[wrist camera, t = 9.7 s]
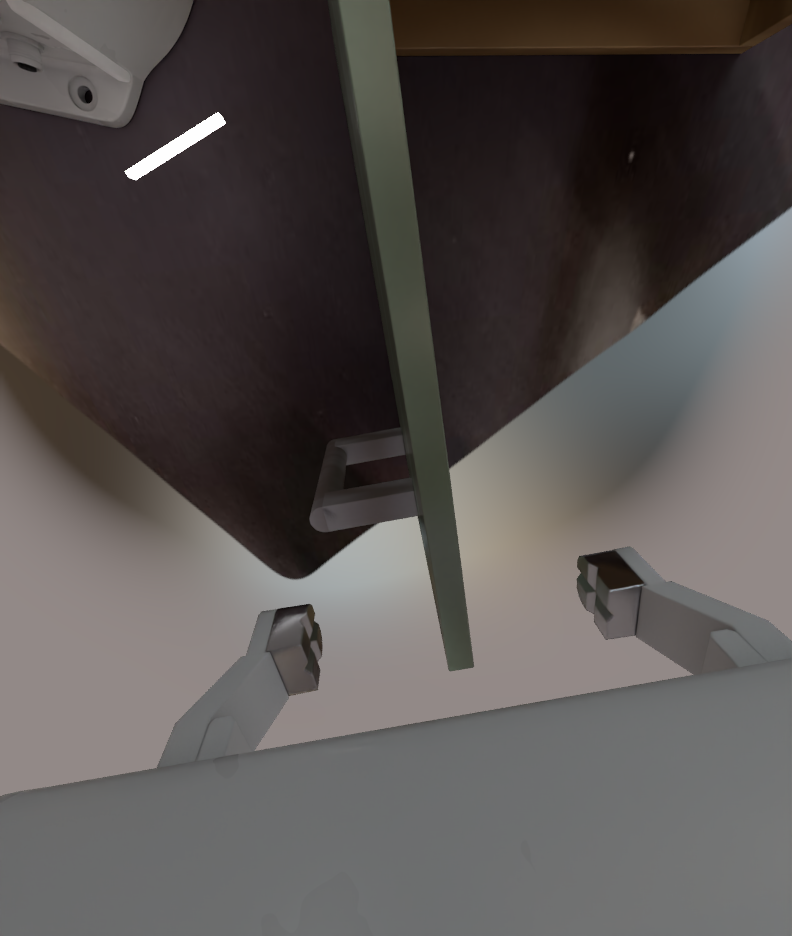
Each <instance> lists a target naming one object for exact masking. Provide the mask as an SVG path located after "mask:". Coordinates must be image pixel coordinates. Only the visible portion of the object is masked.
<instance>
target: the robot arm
mask: <svg viewBox="0 0 792 936" xmlns="http://www.w3.org/2000/svg"><path fill="white" fill-rule="evenodd" d="M192 3H193V0H0V104H4V105H9V106H14V107H18V108H23V109H28V110H33V111H37V112H42V113H47V114H51V115H56V116H61V117H66V118H70V119H75V120H80V121H84V122H89V123H94V124H99V125H103V126H108V127H113V128H120V127H123V126H125V125H127V124H128V123H129V121H130V120H131V118H132V116H133V114H134V112H135V109H136V106H137V103H138V100H139V97H140V94H141V90H142V86H143V82H144V80H145V79H146V77H147V76H148V74H149V73H150V72H151V71H152V69H153V68H154V67H155V66H156V65H157V64H158V63H159V62H160V61H161V60H162V59H163V58H164V57H165V56H166V55H167V54H168V52H169V51H170V50H171V48H172V47H173V46H174V44H175V43H176V41H177V40H178V38H179V36H180V34H181V32H182V30H183V28H184V26H185V24H186V22H187V19H188V16H189V13H190V10H191V7H192ZM88 90H90V91H91V92H92V96H93V99H92V101H91V103H89V104H87V103H86V101H85V93H86V91H88ZM224 124H226V123H225V121H224V119H223V117H222V116H221V115H220V114H219V113H218V112H217V113H216V114H214V115H213V116H211V117H210V118H208V119H206V120H205V121H203V122H202V123H200V124H199V125H197V126H195V127H194V128H192V129H191V130H189V131H188V132H186V133H184V134H183V135H181V136H180V137H178V138H177V139H175V140H173V141H172V142H170V143H169V144H167V145H166V146H164V147H162V148H161V149H159V150H158V151H156V152H155V153H153V154H151V155H150V156H148V157H147V158H145V159H144V160H142V161H140V162H139V163H137V164H136V165H134V166H133V167H131V168H129V169H128V170H126V171H125V172H126V174H127V176H128V177H129V178H132V179H134V180H137V179H138V178H140V177H142V176H143V175H145V174H146V173H148V172H150V171H151V170H153V169H154V168H156V167H158V166H159V165H161V164H162V163H164V162H165V161H167V160H169V159H170V158H172V157H173V156H175V155H177V154H178V153H180V152H181V151H183V150H185V149H186V148H188V147H189V146H191V145H192V144H194V143H196V142H197V141H199V140H200V139H202V138H204V137H205V136H207V135H208V134H210V133H212V132H213V131H215V130H216V129H218V128H219V127H221V126H223V125H224ZM577 567H578V569H579V570H580V572H581V574H580V575H579V577H578V578H577V590H578V594H579V597H580V600H581V602H582V604H583V605H584V607H585V609H586V610H587V611H589V612H591V613H593V614H594V622H595V624H596V625H597V627H598V629H599V630H600V632H601V633H602V635H603V636H604V638H605V639H606V640H608V639H614V638H621V637H627V636H635V635H636V637H637V638H639V639H640V640H642V641H643V642H645V643H646V644H648V645H649V646H651V647H652V648H654V649H655V650H657V651H659V652H660V653H661V654H663V655H664V656H666V657H668V658H669V659H671V660H672V661H674V662H675V663H677V664H678V665H680V666H681V667H683V668H684V669H686V670H687V671H689V672H690V673H692V674H694V675H691V676H685V677H679V678H674V679H668V680H662V681H657V682H651V683H645V684H639V685H633V686H628V687H622V688H616V689H610V690H605V691H599V692H593V693H587V694H581V695H576V696H570V697H564V698H558V699H553V700H547V701H541V702H535V703H530V704H524V705H518V706H512V707H506V708H501V709H495V710H489V711H484V712H477V713H472V714H466V715H460V716H455V717H449V718H443V719H437V720H432V721H426V722H420V723H414V724H408V725H403V726H397V727H391V728H385V729H380V730H374V731H368V732H362V733H357V734H351V735H345V736H339V737H333V738H328V739H322V740H316V741H310V742H305V743H299V744H293V745H288V746H282V747H276V748H270V749H264V750H259V751H254V750H255V749H256V747H257V746H258V744H259V743H260V741H261V740H262V738H263V737H264V735H265V734H266V732H267V730H268V729H269V728H270V726H271V725H272V723H273V721H274V720H275V718H276V717H277V715H278V714H279V712H280V711H281V709H282V708H283V706H284V705H285V703H286V702H287V700H288V699H289V696H291V695H296V694H301V693H305V692H311V691H316V690H318V684H319V676H320V668H319V665H318V660H319V659H320V658H321V656H322V636H321V630H320V627H319V624H317V623H316V622H315V621H314V616H315V612H314V610H313V607H312V605H310V604H306V605H300V606H294V607H286V608H280V609H277V610H269V611H262V612H261V613H260V614H259V616H258V619H257V623H256V625H255V628H254V631H253V635H252V638H251V641H250V644H249V647H248V651H247V654H246V656H243V657H241V658H240V659H239V660H238V661H237V662H235V663H234V664H233V665H232V667H231V668H230V669H229V670H228V671H227V672H226V673H225V674H224V675H223V676H222V677H221V678H220V679H219V680H218V681H217V682H216V683H215V684H214V685H213V686H212V687H211V688H210V689H209V690H208V691H207V692H206V693H205V694H204V695H203V696H202V697H201V698H200V699H199V700H198V701H197V702H196V703H195V704H194V705H193V706H192V707H191V708H190V709H189V710H188V711H187V712H186V713H185V714H184V715H183V716H182V717H181V718H180V719H179V721H177V722H176V723H175V726H174V728H173V730H172V733H171V735H170V738H169V740H168V742H167V745H166V747H165V750H164V752H163V754H162V757H161V759H160V761H159V764H158V767H157V768H155V769H149V770H143V771H138V772H132V773H127V774H120V775H115V776H109V777H103V778H97V779H92V780H86V781H80V782H74V783H69V784H63V785H58V786H52V787H45V788H38V789H32V790H26V791H19V792H15V793H10V794H6V795H2V796H0V936H792V641H791V640H790V639H789V638H788V637H786V636H785V635H784V634H783V633H782V632H781V631H780V630H778V629H777V628H776V627H775V626H774V625H773V624H771V623H770V622H769V621H768V620H766V619H763V618H760V617H757V616H756V615H753V614H751V613H748V612H746V611H743V610H741V609H738V608H736V607H733V606H731V605H729V604H726V603H723V602H721V601H719V600H716V599H714V598H711V597H709V596H707V595H704V594H702V593H699V592H696V591H694V590H692V589H689V588H687V587H684V586H682V585H679V584H677V583H675V582H672V581H670V582H666V581H665V580H664V579H663V578H662V577H661V576H660V575H659V574H658V573H657V572H656V571H655V570H654V569H653V568H652V567H651V566H650V565H649V564H648V563H647V562H646V561H645V560H644V559H643V558H642V557H641V556H640V555H639V554H638V553H637V552H636V551H635V550H634V549H633V548H631V547H625V548H619V549H614V550H612V551H606V552H600V553H594V554H589V555H583V556H579V558H578V562H577Z"/></svg>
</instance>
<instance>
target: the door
mask: <svg viewBox="0 0 792 936" xmlns="http://www.w3.org/2000/svg"><path fill="white" fill-rule="evenodd" d="M327 1H328V8H329V14H330V21H331V27H332V34H333V40H334V47H335V54H336V60H337V67H338V73H339V79H340V85H341V90H342V96H343V102H344V108H345V113H346V119H347V125H348V131H349V136H350V142H351V148H352V153H353V159H354V165H355V171H356V176H357V182H358V188H359V193H360V199H361V205H362V211H363V216H364V222H365V228H366V234H367V239H368V245H369V251H370V256H371V262H372V268H373V274H374V279H375V285H376V291H377V296H378V302H379V308H380V314H381V319H382V325H383V331H384V336H385V342H386V348H387V354H388V359H389V365H390V371H391V377H392V382H393V388H394V394H395V399H396V405H397V411H398V417H399V422H400V428H395V429H389V430H383V431H378V432H372V433H367V434H361V435H356V436H350V437H345V438H339V439H333V440H331V441H330V442H329V443H328V444H327V448H326V452H325V456H324V460H323V464H322V468H321V472H320V477H319V481H318V485H317V489H316V493H315V497H314V501H313V506H312V510H311V514H310V523H311V525H312V526H313V527H314V528H315V529H316V530H318V531H321V532H329V531H335V530H340V529H346V528H352V527H357V526H363V525H369V524H374V523H380V522H385V521H391V520H397V519H403V518H408V517H414V516H418V519H419V524H420V529H421V535H422V540H423V544H424V550H425V555H426V560H427V565H428V570H429V574H430V579H431V584H432V589H433V594H434V599H435V604H436V609H437V614H438V619H439V624H440V629H441V634H442V639H443V644H444V649H445V654H446V659H447V664H448V669H449V671H455V670H461V669H467V668H473V667H474V662H473V654H472V646H471V638H470V631H469V623H468V615H467V607H466V599H465V592H464V583H463V577H462V568H461V560H460V553H459V544H458V536H457V528H456V520H455V513H454V505H453V497H452V489H451V481H450V473H449V465H448V458H447V450H446V442H445V434H444V426H443V418H442V410H441V402H440V395H439V387H438V379H437V371H436V363H435V355H434V347H433V340H432V332H431V324H430V316H429V308H428V300H427V292H426V285H425V277H424V269H423V261H422V253H421V245H420V237H419V229H418V222H417V214H416V206H415V198H414V190H413V182H412V174H411V167H410V159H409V151H408V143H407V135H406V127H405V119H404V112H403V104H402V96H401V88H400V80H399V72H398V64H397V56H396V49H395V41H394V33H393V25H392V17H391V9H390V1H389V0H327ZM400 455H406V460H407V465H408V470H409V475H410V478H406V479H401V480H395V481H389V482H384V483H378V484H373V485H367V486H361V487H356V488H350V489H345V490H343V488H344V479H345V471H346V465H350V464H355V463H361V462H366V461H372V460H378V459H383V458H389V457H394V456H400Z"/></svg>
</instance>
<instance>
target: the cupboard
mask: <svg viewBox="0 0 792 936" xmlns="http://www.w3.org/2000/svg"><path fill="white" fill-rule="evenodd" d="M389 1H390V9H391V17H392V25H393V33H394V41H395V49H396V56H469V55H606V54H741V53H743V52H744V51H746V50H748V49H750V48H751V47H753V46H755V45H756V44H758V43H760V42H762V41H763V40H765V39H767V38H768V37H770V36H772V35H773V34H775V33H777V32H779V31H780V30H782V29H784V28H785V27H787V26H789V25H791V24H792V0H389Z"/></svg>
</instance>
